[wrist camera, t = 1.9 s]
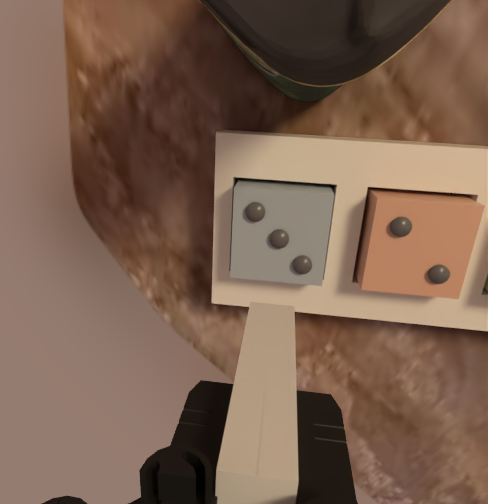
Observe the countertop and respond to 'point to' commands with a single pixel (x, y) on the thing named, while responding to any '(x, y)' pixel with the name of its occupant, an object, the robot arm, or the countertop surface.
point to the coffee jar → (321, 38)
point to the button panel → (351, 219)
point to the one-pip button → (486, 283)
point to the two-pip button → (416, 242)
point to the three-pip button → (280, 231)
